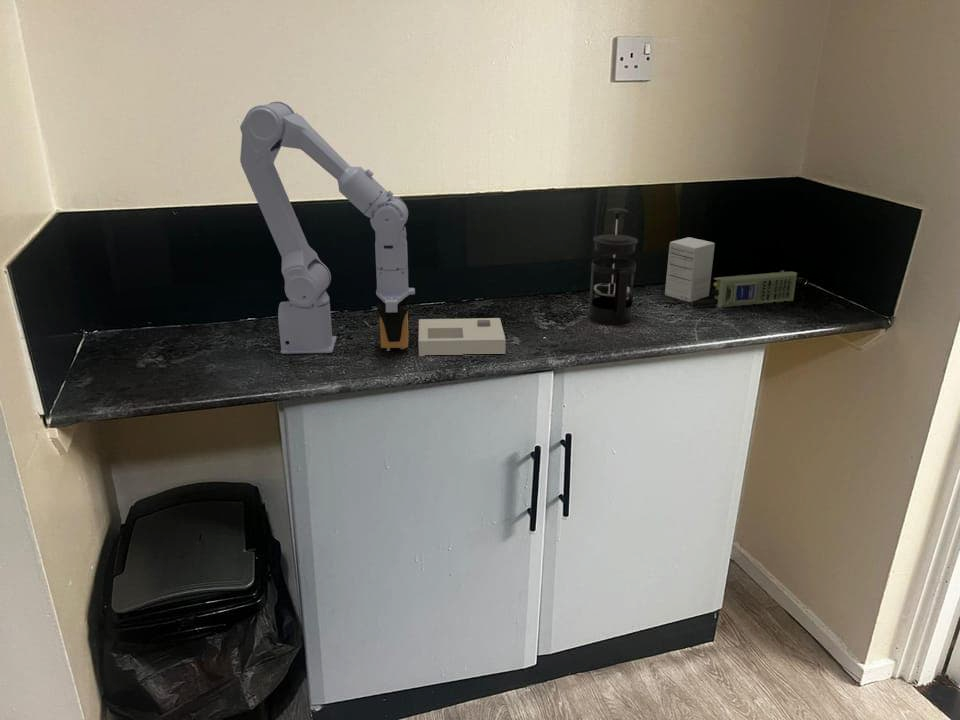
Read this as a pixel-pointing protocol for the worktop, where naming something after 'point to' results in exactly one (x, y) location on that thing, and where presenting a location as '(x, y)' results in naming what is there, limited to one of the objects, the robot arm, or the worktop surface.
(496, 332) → the socket
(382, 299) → the robot arm
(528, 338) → the worktop surface
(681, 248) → the grey drawer unit
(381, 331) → the plug
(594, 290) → the french press
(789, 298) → the handheld radio
